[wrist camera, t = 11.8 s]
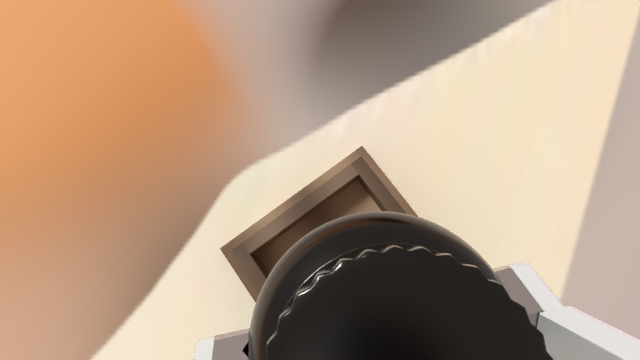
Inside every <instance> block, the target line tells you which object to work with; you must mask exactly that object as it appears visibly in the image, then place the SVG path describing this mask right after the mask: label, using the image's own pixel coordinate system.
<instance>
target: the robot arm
mask: <svg viewBox="0 0 640 360" xmlns="http://www.w3.org/2000/svg"><path fill="white" fill-rule="evenodd" d="M493 271H494V272H495V273H496V275H497V276H498V278H499V279H500V281H501V283H502V284H503V286H504V287H505V289H506V291H507V292H508V294H509V296H510V298H511V300H513V301H516V302H517V303H519V304H521V305H522V306H524V307H525V309H526V311H527V314H528V317H529V320H530V322H531V324H532V325H534V326H535V327H536V328H537V329H538V330H539V331H540V332H541V333H542V334H543V336H544V340H545V345H546V351H547V352H548V353H549V355H550V356H551V357H552V358H553V360H640V340H638V339H636V338H634V337H632V336H630V335H628V334H626V333H624V332H622V331H620V330H618V329H616V328H614V327H612V326H610V325H608V324H605V323H604V322H602V321H600V320H598V319H596V318H594V317H592V316H590V315H588V314H585V313H584V312H581V311H580V310H578V309H576V308H573V307H571V306H566V307H564V306H563V304H562V303H561V302H560V301H559V300H558V298H557V297H556V296H555V295H554V294H553V292H552V291H551V290H550V289H549V288H548V286H547V285H546V284H545V283H544V282H543V280H542V279H541V278H540V277H539V276H538V274H537V273H536V272H535V271H534V270H533V268H532V267H531V266H530V265H529V264H528V263H526V262H520V263H516V264H512V265H508V266H502V267H498V268H494V269H493ZM249 333H250V328H249V329H244V330H240V331H235V332H230V333H226V334H221V335H216V336H212V337H208V338H203V339H199V341H198V343H197V345H196V350H195V356H194V360H249V357H248V347H249Z"/></svg>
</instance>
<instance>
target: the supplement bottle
mask: <svg viewBox="0 0 640 360" xmlns="http://www.w3.org/2000/svg"><path fill="white" fill-rule="evenodd" d="M248 357H249V360H553V358H552V357H551V356H550V355H549V353H548V352H547V351H546V345H545V340H544V336H543V334H542V333H541V332H540V331H539V330H538V329H537V328H536V327H535V326H534V325H532V324H531V322H530V320H529V317H528V314H527V311H526V309H525V307H524V306H522V305H521V304H519V303H517V302H516V301H513V300H511V298H510V296H509V294H508V292H507V291H506V289H505V287H504V286H503V284H502V283H501V281H500V279H499V278H498V276H497V275H496V273H495V272H494V271H493V269H492V268H491V267H490V265H489V264H488V263H487V262H486V261H485V260H484V259H483V258H482V256H481V255H480V254H479V253H478V252H476V251H475V250H474V249H473V248H472V247H471V246H470V245H469V244H467V243H466V242H465V241H464V240H462V239H461V238H460V237H458V236H457V235H455V234H454V233H452V232H450V231H449V230H447V229H445V228H443V227H441V226H440V225H438V224H436V223H433V222H431V221H428V220H426V219H423V218H420V217H416V216H413V215H408V214H403V213H398V212H387V211H373V212H363V213H357V214H352V215H347V216H344V217H341V218H338V219H335V220H333V221H330V222H328V223H325V224H323V225H322V226H320V227H318V228H316V229H314V230H313V231H311V232H310V233H308V234H307V235H305V236H304V237H302V238H301V239H300V240H299V241H298V242H296V243H295V244H294V245H293V246H292V247H291V248H290V249H289V250H288V251H287V252H286V253H285V254H284V255H283V256H282V258H281V259H280V260H279V261H278V262H277V264H276V265H275V267H274V268H273V270H272V271H271V273H270V274H269V276H268V278H267V279H266V281H265V283H264V285H263V287H262V289H261V292H260V294H259V296H258V299H257V302H256V305H255V308H254V311H253V316H252V320H251V325H250V333H249V347H248Z"/></svg>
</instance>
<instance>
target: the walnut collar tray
mask: <svg viewBox="0 0 640 360" xmlns="http://www.w3.org/2000/svg"><path fill="white" fill-rule="evenodd" d="M373 211H387V212H398V213H403V214H408V215H413V216H416V217H418V216H417V215H416V213H415V212H414V211H413V210H412V208H411V207H410V206H409V205H408V203H407V202H406V201H405V200H404V198H403V197H402V196H401V194H400V193H399V192H398V191H397V189H396V188H395V187H394V186H393V184H392V183H391V182H390V181H389V179H388V178H387V177H386V176H385V174H384V173H383V172H382V170H381V169H380V168H379V167H378V165H377V164H376V163H375V162H374V160H373V159H372V158H371V157H370V155H369V154H368V153H367V152H366V150H365V149H364V148H363V146H361V147H360V148H358V149H357V150H356V151H354V152H353V153H352V154H350V155H349V156H347V157H346V158H345V159H343V160H342V161H341V162H339V163H338V164H336V165H335V166H334V167H332V168H331V169H329V170H328V171H327V172H325V173H324V174H323V175H321V176H320V177H318V178H317V179H316V180H314V181H313V182H311V183H310V184H309V185H307V186H306V187H305V188H303V189H302V190H300V191H299V192H298V193H296V194H295V195H293V196H292V197H291V198H289V199H288V200H287V201H285V202H284V203H282V204H281V205H280V206H278V207H277V208H276V209H274V210H273V211H271V212H270V213H269V214H267V215H266V216H264V217H263V218H262V219H260V220H259V221H258V222H256V223H255V224H253V225H252V226H251V227H249V228H248V229H246V230H245V231H244V232H242V233H241V234H240V235H238V236H237V237H235V238H234V239H233V240H231V241H230V242H229V243H227V244H226V245H224V246H223V247H222V248H220V249H221V251H222V252H223V254H224V255H225V257H226V258H227V260H228V261H229V263H230V264H231V266H232V267H233V269H234V270H235V272H236V273H237V275H238V277H239V278H240V280H241V281H242V283H243V284H244V286H245V287H246V289H247V290H248V292H249V293H250V295H251V296H252V298H253V299H254V301H255V302H257V299H258V296H259V294H260V292H261V289H262V287H263V285H264V283H265V281H266V279H267V278H268V276H269V274H270V273H271V271H272V270H273V268H274V267H275V265H276V264H277V262H278V261H279V260H280V259H281V258H282V256H283V255H284V254H285V253H286V252H287V251H288V250H289V249H290V248H291V247H292V246H293V245H294V244H295V243H296V242H298V241H299V240H300V239H301V238H302V237H304V236H305V235H307V234H308V233H310V232H311V231H313V230H314V229H316V228H318V227H320V226H322V225H323V224H325V223H328V222H330V221H333V220H335V219H338V218H341V217H344V216H347V215H352V214H357V213H363V212H373Z"/></svg>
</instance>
